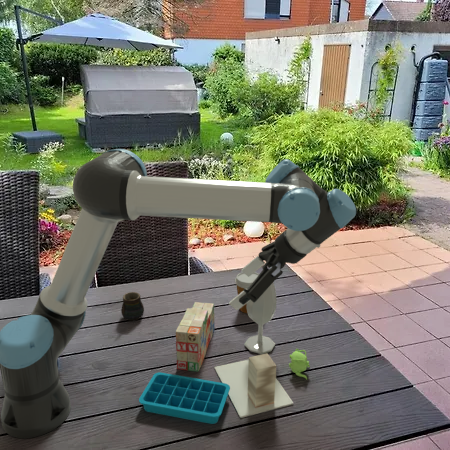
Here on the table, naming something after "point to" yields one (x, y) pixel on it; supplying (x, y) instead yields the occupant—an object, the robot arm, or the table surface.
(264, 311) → the wineglass
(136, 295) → the mate gourd
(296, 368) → the green monster figurine
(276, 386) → the rubber mat
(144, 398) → the ice cube tray
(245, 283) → the disposable coffee cup
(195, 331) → the stack of blocks
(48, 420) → the robot arm
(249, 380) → the birch block
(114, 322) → the table surface
